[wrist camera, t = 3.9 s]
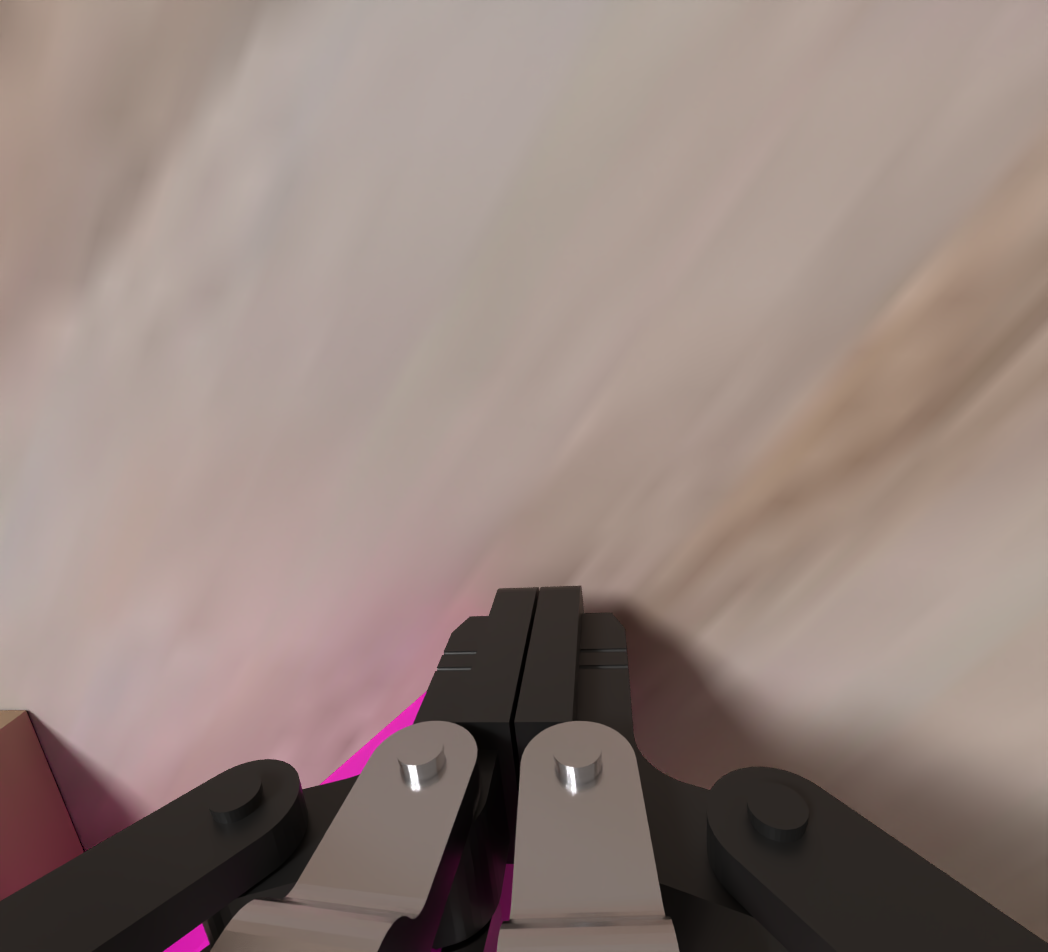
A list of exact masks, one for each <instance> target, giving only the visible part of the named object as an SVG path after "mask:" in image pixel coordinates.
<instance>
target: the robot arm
mask: <svg viewBox="0 0 1048 952" xmlns="http://www.w3.org/2000/svg"><path fill="white" fill-rule="evenodd" d="M506 864H514V870H513V885H512V900H511V912H510V919H509V921H503V922H502V924H501V921H502V914H501V905H500V897H501V893H502V887H503V880H504V874H505V868H506ZM200 924H203V927H204V930H205V933H206V935H207V938H208V941H209V945H208V946H206V947H205V948H204V949H202V950H201V951H200V952H431V949H432V948H433V949H435V950H437V949H440V948H441V952H495V950H496V946H497V952H1048V943H1046V942H1045V941H1043V940H1042V939H1040V938H1039V937H1038V936H1036V935H1035V934H1033V933H1032V932H1030V931H1029V930H1027V929H1026V928H1024V927H1023V926H1022V925H1020V924H1019V923H1017V922H1016V921H1014V920H1013V919H1011V918H1010V917H1008V916H1007V915H1005V914H1004V913H1003V912H1001V911H1000V910H998V909H997V908H995V907H994V906H992V905H991V904H989V903H988V902H987V901H985V900H984V899H982V898H981V897H979V896H978V895H976V894H975V893H973V892H972V891H970V890H969V889H968V888H966V887H965V886H963V885H962V884H960V883H959V882H957V881H956V880H954V879H953V878H951V877H950V876H949V875H947V874H946V873H944V872H943V871H941V870H940V869H938V868H937V867H935V866H934V865H933V864H931V863H930V862H928V861H927V860H925V859H924V858H922V857H921V856H919V855H918V854H916V853H915V852H914V851H912V850H911V849H909V848H908V847H906V846H905V845H903V844H902V843H900V842H899V841H898V840H896V839H895V838H893V837H892V836H890V835H889V834H887V833H886V832H884V831H883V830H881V829H880V828H879V827H877V826H876V825H874V824H873V823H871V822H870V821H868V820H867V819H865V818H864V817H863V816H861V815H860V814H858V813H857V812H855V811H854V810H852V809H851V808H849V807H848V806H846V805H845V804H844V803H842V802H841V801H839V800H838V799H836V798H835V797H833V796H832V795H830V794H829V793H828V792H826V791H825V790H823V789H822V788H820V787H819V786H817V785H816V784H814V783H812V782H811V781H809V780H807V779H805V778H803V777H801V776H799V775H796V774H794V773H791V772H788V771H785V770H780V769H776V768H769V767H748V768H742V769H738V770H735V771H732V772H730V773H728V774H726V775H725V776H723V777H722V778H721V779H719V780H718V781H717V782H716V783H715V784H714V786H713V787H712V788H711V790H708V789H704V788H700V787H697V786H693V785H690V784H686V783H684V782H681V781H678V780H675V779H673V778H671V777H669V776H667V775H665V774H663V773H662V772H660V771H659V770H657V769H656V768H655V767H653V766H652V765H651V764H650V763H649V762H648V761H647V760H646V759H645V758H644V757H643V756H642V754H641V752H640V751H639V749H638V748H637V745H636V743H635V739H634V734H633V722H632V709H631V697H630V684H629V671H628V659H627V646H626V634H625V628H624V627H623V626H622V625H621V623H620V622H619V621H618V620H617V619H616V617H615V616H614V615H613V614H612V613H584V608H583V596H582V588H581V586H560V587H541V588H540V590H539V588H538V587H533V588H502V589H498V590H497V593H496V596H495V599H494V602H493V605H492V608H491V611H490V614H489V616H472V617H469V618H468V619H467V620H466V621H464V622H463V623H462V624H461V625H460V626H459V627H458V628H457V629H456V630H454V631H453V632H452V634H451V636H450V638H449V641H448V643H447V645H446V648H445V650H444V655H442V657H441V659H440V662H439V664H438V666H437V671H435V673H434V676H433V678H432V680H431V683H430V685H429V687H428V690H427V692H426V694H425V697H424V699H423V701H422V704H421V706H420V708H419V711H418V713H417V715H416V718H415V720H414V722H413V725H410V726H408V727H405V728H403V729H401V730H399V731H397V732H395V733H394V734H392V735H391V736H389V737H388V738H387V739H385V740H384V741H383V742H382V743H381V744H380V745H379V746H378V747H377V748H376V749H375V751H374V752H373V754H372V755H371V757H370V758H369V760H368V762H367V763H366V765H365V767H364V768H363V770H362V772H361V774H359V775H356V776H353V777H350V778H346V779H343V780H339V781H334V782H330V783H326V784H322V785H318V786H314V787H310V788H306V789H302V787H301V783H300V779H299V776H298V773H297V771H296V770H295V768H293V767H292V766H291V765H290V764H288V763H286V762H284V761H279V760H272V759H265V760H256V761H251V762H247V763H244V764H241V765H238V766H235V767H233V768H231V769H228V770H226V771H224V772H223V773H221V774H219V775H217V776H215V777H214V778H212V779H210V780H208V781H207V782H205V783H203V784H201V785H200V786H198V787H196V788H195V789H193V790H191V791H189V792H188V793H186V794H184V795H182V796H181V797H179V798H177V799H176V800H174V801H172V802H170V803H169V804H167V805H165V806H163V807H162V808H160V809H158V810H157V811H155V812H153V813H151V814H150V815H148V816H146V817H144V818H143V819H141V820H139V821H138V822H136V823H134V824H132V825H131V826H129V827H127V828H125V829H124V830H122V831H120V832H119V833H117V834H115V835H113V836H112V837H110V838H108V839H107V840H105V841H103V842H101V843H100V844H98V845H96V846H94V847H93V848H91V849H89V850H88V851H86V852H84V853H82V854H81V855H79V856H77V857H75V858H74V859H72V860H70V861H69V862H67V863H65V864H63V865H62V866H60V867H58V868H56V869H55V870H53V871H51V872H50V873H48V874H46V875H44V876H43V877H41V878H39V879H37V880H36V881H34V882H32V883H31V884H29V885H27V886H25V887H24V888H22V889H20V890H18V891H17V892H15V893H13V894H12V895H10V896H8V897H6V898H5V899H3V900H1V901H0V952H163V951H164V950H166V949H167V948H169V947H170V946H171V945H173V944H174V943H175V942H177V941H178V940H180V939H181V938H182V937H184V936H185V935H186V934H188V933H189V932H191V931H192V930H193V929H195V928H196V927H197V926H199V925H200ZM497 941H498V943H497Z"/></svg>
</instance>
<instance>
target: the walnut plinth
mask: <svg viewBox="0 0 1048 952" xmlns="http://www.w3.org/2000/svg"><path fill="white" fill-rule="evenodd" d="M82 853H84V851H83V848H82V846H81V844H80V841H79V839H78V836H77V834H76V831H75V829H74V826H73V824H72V822H71V819H70V817H69V814H68V812H67V809H66V807H65V804H64V802H63V800H62V797H61V795H60V792H59V790H58V787H57V785H56V782H55V780H54V778H53V775H52V773H51V770H50V768H49V765H48V763H47V760H46V758H45V756H44V753H43V751H42V748H41V746H40V743H39V741H38V739H37V736H36V734H35V731H34V729H33V726H32V724H31V721H30V719H29V717H28V714H27V712H26V710H8V711H0V901H1V900H3V899H5V898H6V897H8V896H10V895H12V894H13V893H15V892H17V891H18V890H20V889H22V888H24V887H25V886H27V885H29V884H31V883H32V882H34V881H36V880H37V879H39V878H41V877H43V876H44V875H46V874H48V873H50V872H51V871H53V870H55V869H56V868H58V867H60V866H62V865H63V864H65V863H67V862H69V861H70V860H72V859H74V858H75V857H77V856H79V855H81V854H82Z"/></svg>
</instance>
